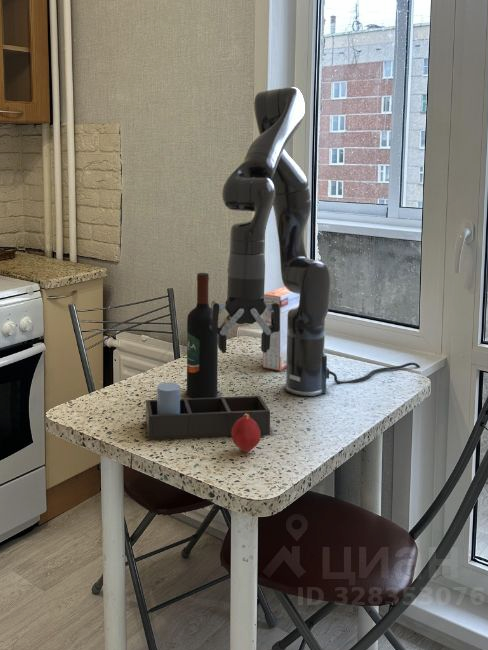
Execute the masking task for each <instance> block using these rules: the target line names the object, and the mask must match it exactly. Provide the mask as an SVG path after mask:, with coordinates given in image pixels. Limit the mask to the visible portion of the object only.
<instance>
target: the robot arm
mask: <svg viewBox="0 0 488 650" xmlns="http://www.w3.org/2000/svg"><path fill="white" fill-rule="evenodd" d="M253 101H254V102H253V105H254V106H253V111H254V116H255V117H254V118H255V121H256V125H257V129H258V134H259V135H258V136H257V137H256V138H255V139H254V140H253V142H251V144H250V146H249V147H248V149H247V151H246V155H245V157H244V159H243V162H242V163H240V164H239V166H237V167H236V169H235V170H234V171H233V172H232V173H231V174H230V175H229V176H228V177H227V178H226V180H225V182H224V185H223V187H222V191H221V197H222V201H223V204H224V205H225V207H226V208H227V209H228V210H231V211H235V212H254V215H253V217H252V219H250V220H248V221H243V222H238V223H237V222H236V223H234V224H232V226H231V227H230V232H229V234H230V235H229V237H230V238H229V239H230V240H229V257H228V262H227V263H228V264H227V292H226V293H227V294H226V301H225V302H217V300H213V301H212V302H211V304H210V305H211V306H210V308H211V316H210V329H211V330H212V332H215V333H218V350H219V351H220V352H221V353H222V354H226V353H227V339H228V338H227V333H228V332H229V330H230V329H231V328H233V326H234V325H235V324H238V325H244V324H249V325H254V324H255V323H256V324H257V325H258V326H259V327H260V328H261V330H262V332H261V337H260V339H261V341H260V351H261V352H262V354H263V353H267V350H269V348H270V335H271V334H272V333H274V332H279V330H280V314H279V304H278V303H277V302H275V301H272V302H271V303H265V302H264V294H265V284H266V283H265V281H266V279H265V277H266V259H265V247H266V245H265V243H266V230H267V225H268V222H269V217H270V214H271V211H272V208H273V212H274V217H275V218H274V219H275V225H276V233H277V237H278V244H279V245H278V248H279V259H280V260H279V261H280V276H281V280H282V284H283V285H284V286H285V287H286V288H287V289H288V290H289V291H291V292H293V293H296V294H299V295H300V300H299V306H298V307H297V308H293V309H291V310H289V311H288V316H287V364H286V368H285V370H286V371H285V390H286V391H287V392H289V393H290V394H292V395H296V396H301V397H314V396H316V397H317V396H320V395H322V394H327V379H330V375H331V376H333V381H334V383H336V384H340V385H341V384H353V383H358V382H361V381H364V380H367V379H369V378H370V377H371V376H372V375H373V374H375V373H378V372H383V371H391V370H399V369H403V368H406V367H409V366H415V367H417V368H418V369H419V368H421V366H420V365H419V364H418V363H416V362H407V363H405V364H401V365H397V366H386V367H381V368H376V369H373V370H371V371H370V372H368V374H367V375H365V376H362V377H358V378H355V379H351V380H347V381H341V380H338V376H337V374H336V373H335V372H333V371H331V370H330V368H329V367H328V366H327V365H328V356H327V355H326V354H325V339H326V337H325V335H326V317H327V315H328V312H329V308H330V295H331V283H332V282H331V272H330V269H329V267H328V266H327V265H326V263H324V262H323V261H320V260H316V259H312V258H308V256H307V253H306V248H305V247H306V245H305V239H304V237H305V231H306V226H307V224H308V221H309V218H310V215H311V210H312V199H311V191H310V187H309V181H308V178H307V175H306V174H305V173H304V172H303V170H302V169H301V167H300V166H299V165H298V164H297V163H296V162H295V161H294V160H293V158H291V156H290V155H289V154H288V153H287V151H286V150H285V148H286V147H287V146H288V144H289V143H290V141H291V139H292V138H293V136H295V133H296V132H297V130H298V129H299V127H300V126H301V124H302V122H303V119H304V117H305V109H306V108H305V100H304V97H303V94H302V93H301V90H300V89H298V88H297V87H294V86H292V87H291V86H288V87H282V88H281V87H280V88H276V89H269V90H263V91H259V92H258V93H256V95H255V97H254V100H253ZM266 308H267V309H268V311H269V312H270V313H271V325H270V326H267V325H266V323H265V322H264V320H263V312H264V311H265V309H266ZM223 310H225V311H226V312H227V313H228V314H227V315H226V316H225V318H224V319H223V322H222V323H220V325H219V315H220V314H222V312H223Z"/></svg>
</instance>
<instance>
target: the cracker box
mask: <svg viewBox="0 0 488 650" xmlns="http://www.w3.org/2000/svg"><path fill="white" fill-rule="evenodd" d="M299 300H300V295H299V294H296V293H293V292H291V291H289V290H288V289H287V288H286V287H285V285H284V286H282V287H279V288H276V289H274V290H271V291H268V292H265V293H264V302H265V303H271V302H272V301H275V302H277V303H278V304H279V314H280V330H279V332H274V333H272V334H271V335H270V348H269V350H267V353H263V352H262V368H263V369H267V370H273V371H278V372H281V371H283V370H286V364H287V316H288V311H289V310H291V309H293V308H297V307H298V306H299ZM262 319H263V320H264V322H265V323H266V325H267V326H270V325H271V313H270V312H269V311H268V309H267V308H266V309H265V311H264V312H263V313H262Z"/></svg>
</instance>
